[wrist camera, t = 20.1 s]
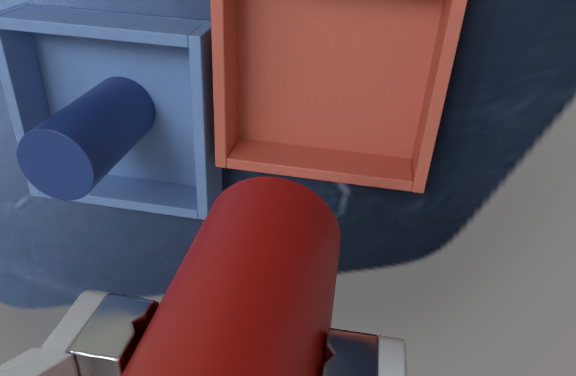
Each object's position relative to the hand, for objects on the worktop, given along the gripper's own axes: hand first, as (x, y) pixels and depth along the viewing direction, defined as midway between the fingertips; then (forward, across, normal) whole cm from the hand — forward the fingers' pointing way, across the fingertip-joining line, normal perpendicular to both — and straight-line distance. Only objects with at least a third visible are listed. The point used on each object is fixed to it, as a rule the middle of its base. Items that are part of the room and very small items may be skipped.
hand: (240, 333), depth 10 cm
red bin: (+18, 0, 0) cm, 18 cm away
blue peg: (+17, +11, +3) cm, 21 cm away
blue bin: (+18, +11, +3) cm, 21 cm away
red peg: (+4, 0, 0) cm, 4 cm away
